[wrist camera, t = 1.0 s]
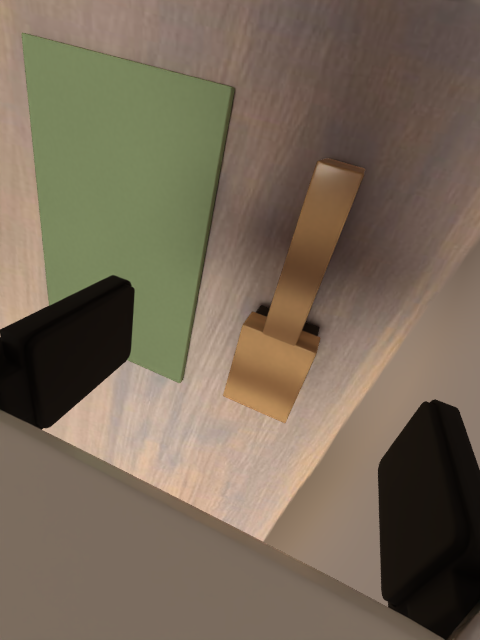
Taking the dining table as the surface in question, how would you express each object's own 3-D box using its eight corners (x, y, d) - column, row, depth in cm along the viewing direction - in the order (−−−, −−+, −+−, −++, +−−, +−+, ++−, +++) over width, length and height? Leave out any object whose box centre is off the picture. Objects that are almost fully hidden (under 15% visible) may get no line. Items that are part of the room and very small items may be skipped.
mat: (29, 35, 20) (20, 32, 20) (235, 88, 18) (231, 86, 17) (55, 323, 32) (50, 326, 32) (183, 379, 30) (179, 383, 29)
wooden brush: (303, 151, 18) (290, 152, 15) (390, 175, 17) (393, 181, 14) (239, 368, 27) (222, 396, 24) (295, 391, 26) (285, 423, 23)
